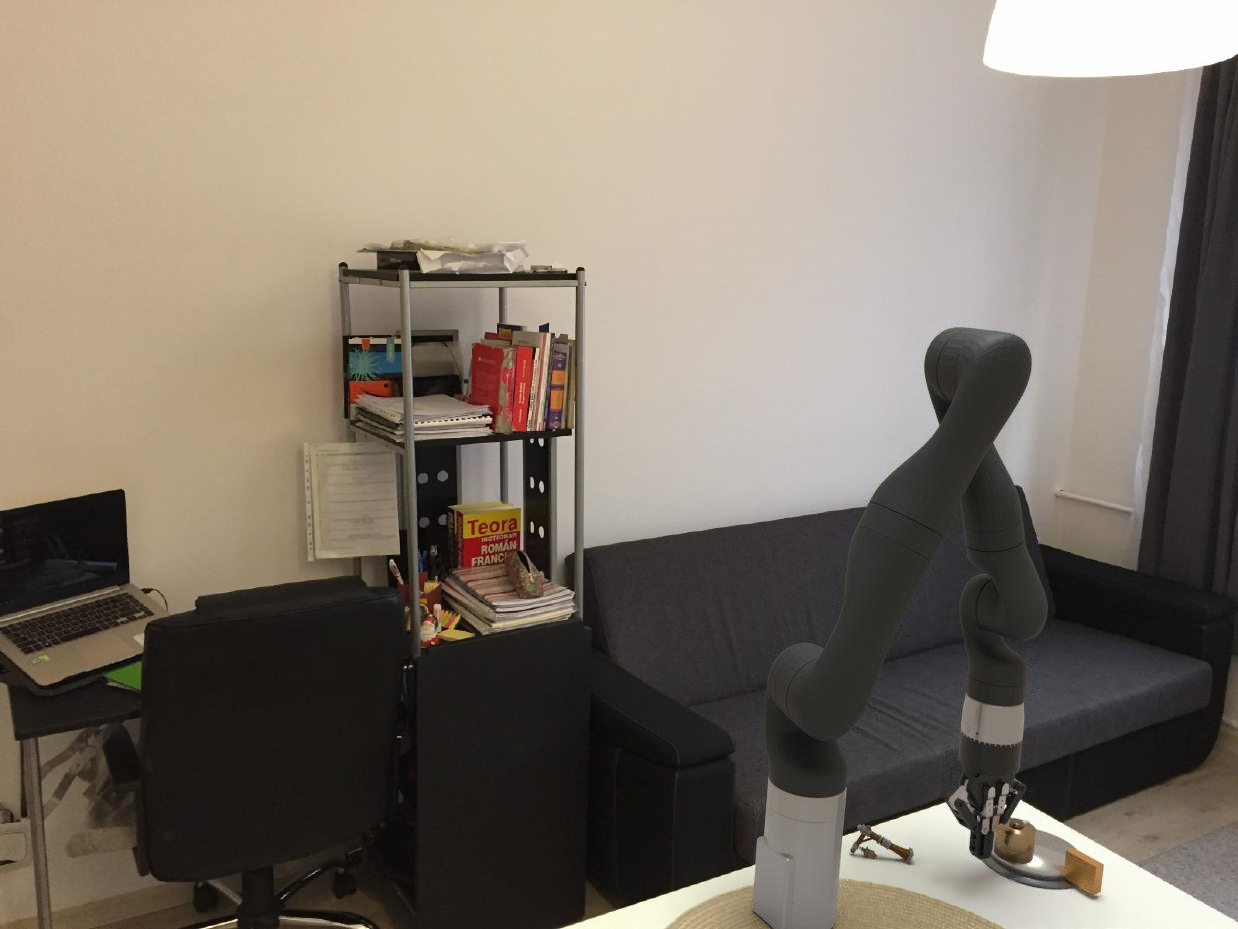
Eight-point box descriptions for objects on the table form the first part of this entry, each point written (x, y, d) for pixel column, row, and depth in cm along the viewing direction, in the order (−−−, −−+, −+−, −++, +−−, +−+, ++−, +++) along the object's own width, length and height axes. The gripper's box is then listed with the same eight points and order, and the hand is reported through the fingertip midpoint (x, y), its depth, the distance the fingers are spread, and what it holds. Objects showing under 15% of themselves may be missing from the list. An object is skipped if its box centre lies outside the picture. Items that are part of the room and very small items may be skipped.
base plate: (1039, 899, 133) (1039, 896, 133) (956, 847, 145) (956, 845, 145) (1111, 875, 139) (1111, 872, 139) (1025, 828, 151) (1026, 825, 151)
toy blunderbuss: (844, 844, 143) (860, 818, 142) (896, 873, 142) (913, 846, 141) (844, 851, 141) (861, 824, 140) (898, 880, 140) (914, 853, 139)
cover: (1015, 867, 137) (1018, 834, 136) (985, 849, 141) (988, 817, 140) (1041, 859, 139) (1045, 827, 138) (1011, 842, 143) (1014, 810, 143)
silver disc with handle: (967, 844, 144) (970, 819, 144) (1027, 828, 150) (1029, 803, 149) (1065, 904, 130) (1068, 876, 130) (1127, 883, 136) (1130, 856, 136)
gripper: (977, 750, 127) (965, 882, 130) (1051, 733, 134) (1038, 859, 136) (932, 728, 134) (921, 853, 136) (1004, 712, 140) (993, 832, 143)
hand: (980, 856), depth 136 cm, fingers closed
